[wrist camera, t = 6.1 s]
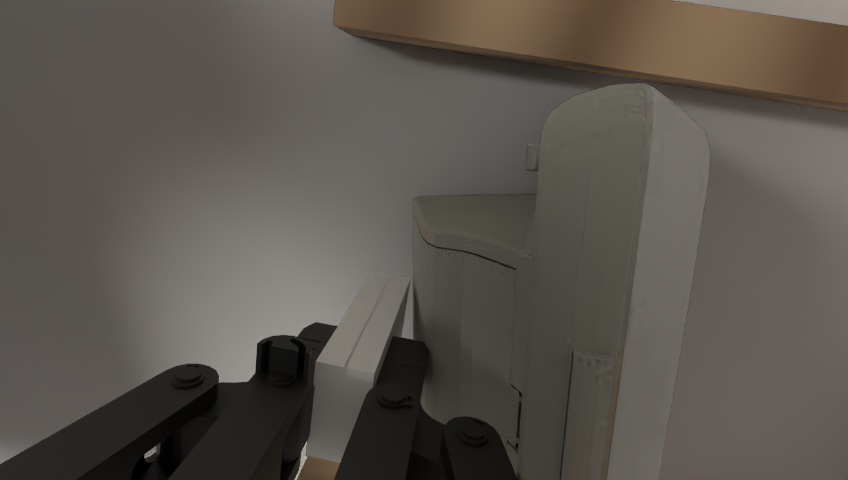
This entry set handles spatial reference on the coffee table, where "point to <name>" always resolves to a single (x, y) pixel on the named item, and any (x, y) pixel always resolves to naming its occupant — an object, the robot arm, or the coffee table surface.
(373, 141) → the coffee table surface
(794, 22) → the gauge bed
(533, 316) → the digital clock
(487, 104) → the coffee table surface
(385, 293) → the robot arm
